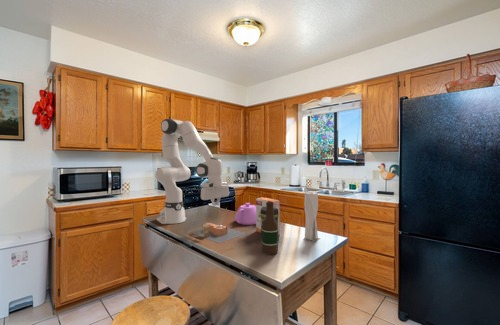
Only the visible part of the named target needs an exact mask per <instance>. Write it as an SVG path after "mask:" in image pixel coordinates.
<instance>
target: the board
mask: <svg viewBox="0 0 500 325" xmlns="http://www.w3.org/2000/svg"><path fill="white" fill-rule="evenodd" d="M192 234H194V235H196V236H197V237H198V236H199V237H201V238H203V239H206V240H209V241H212V242H214V243H217V244H221V243H224V242H226V241H230V240H233V239H235V238H238V237H241V236H244V235H248V234H247V232H243V231H239V230H237V229H233V228H230V227H227V234H225V235H222V236H217V235H214V234H213V233H212V232H209V237H204V229H202V230H199V231H195V232H192Z"/></svg>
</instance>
